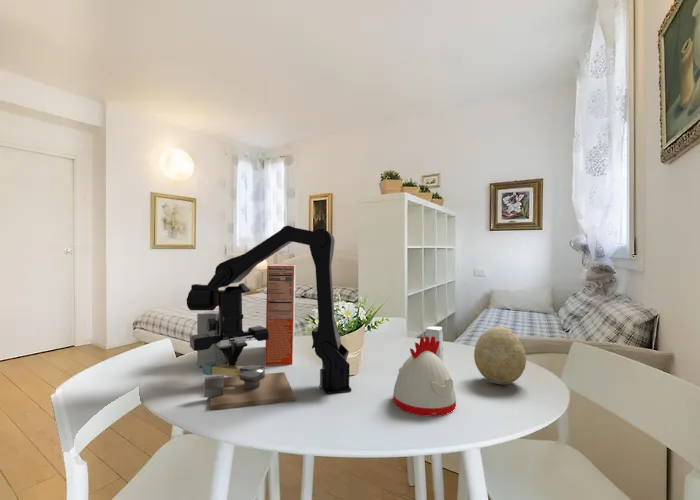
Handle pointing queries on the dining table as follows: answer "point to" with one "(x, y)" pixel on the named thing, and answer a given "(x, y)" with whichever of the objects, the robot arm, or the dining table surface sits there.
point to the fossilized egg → (500, 355)
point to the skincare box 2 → (436, 338)
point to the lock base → (247, 391)
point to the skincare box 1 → (213, 352)
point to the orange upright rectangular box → (280, 314)
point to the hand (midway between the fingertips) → (231, 371)
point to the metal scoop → (235, 371)
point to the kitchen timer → (424, 382)
